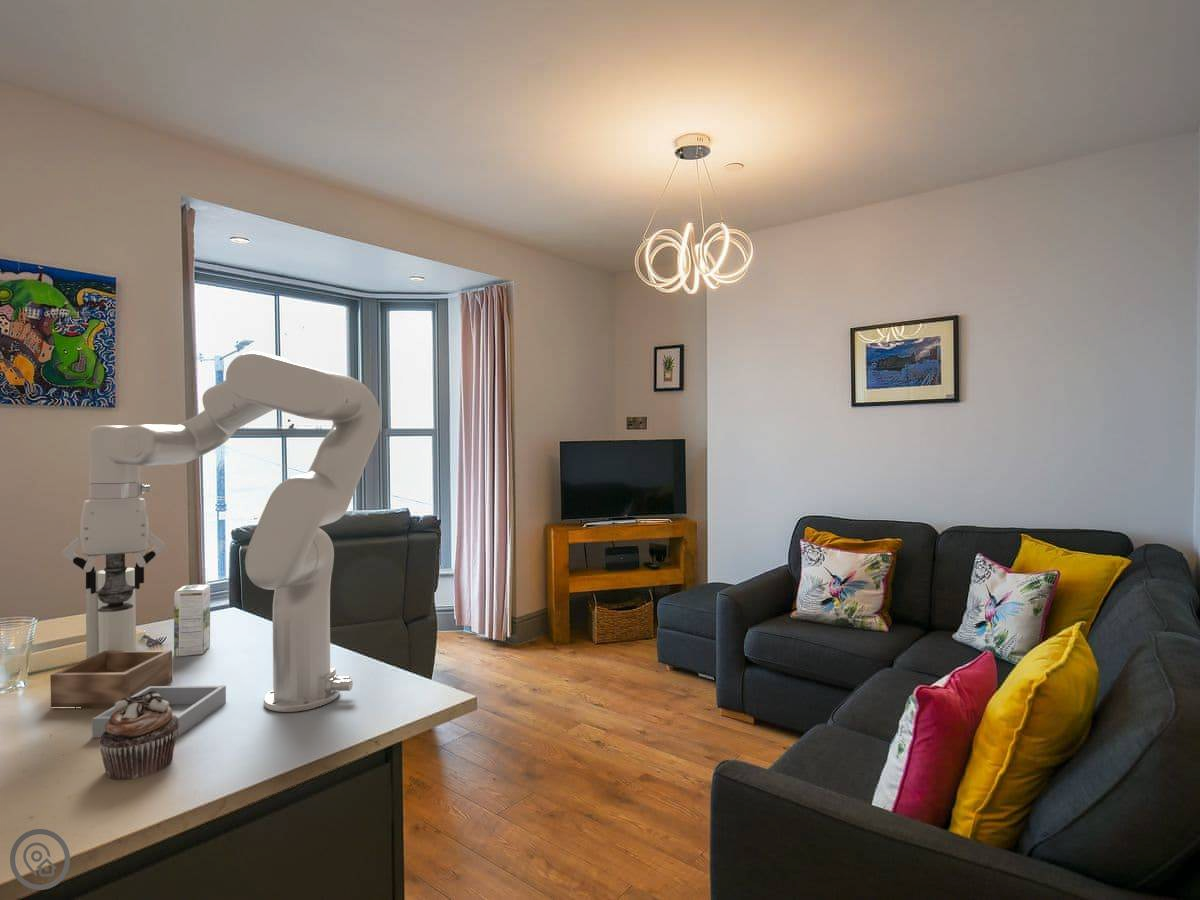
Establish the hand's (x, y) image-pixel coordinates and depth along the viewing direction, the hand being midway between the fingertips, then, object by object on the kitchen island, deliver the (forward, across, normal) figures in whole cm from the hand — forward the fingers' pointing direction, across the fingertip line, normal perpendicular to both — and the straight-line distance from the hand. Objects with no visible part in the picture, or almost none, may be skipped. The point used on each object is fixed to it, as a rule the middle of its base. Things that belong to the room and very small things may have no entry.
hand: (115, 589), depth 121 cm
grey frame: (+20, -6, +17) cm, 27 cm away
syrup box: (+20, -14, -21) cm, 32 cm away
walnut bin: (+20, 0, -1) cm, 20 cm away
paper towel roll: (+20, 0, -13) cm, 24 cm away
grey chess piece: (+4, 0, 0) cm, 4 cm away
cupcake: (+20, -3, +34) cm, 40 cm away
